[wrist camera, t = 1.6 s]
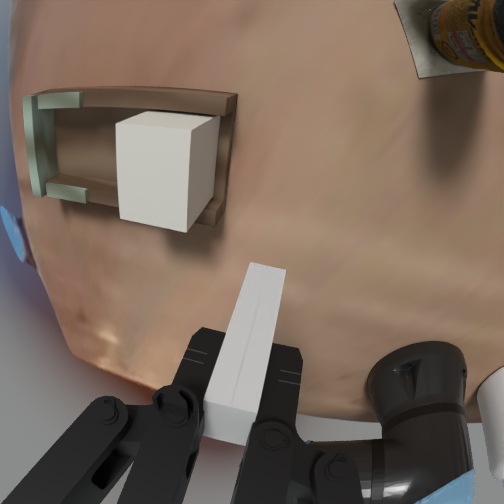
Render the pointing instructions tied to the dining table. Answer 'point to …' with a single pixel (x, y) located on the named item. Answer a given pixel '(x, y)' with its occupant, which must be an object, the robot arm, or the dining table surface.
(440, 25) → the condiment
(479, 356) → the dining table surface
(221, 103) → the walnut chute
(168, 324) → the dining table surface
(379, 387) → the robot arm
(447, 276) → the dining table surface
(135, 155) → the cream block
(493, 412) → the can
